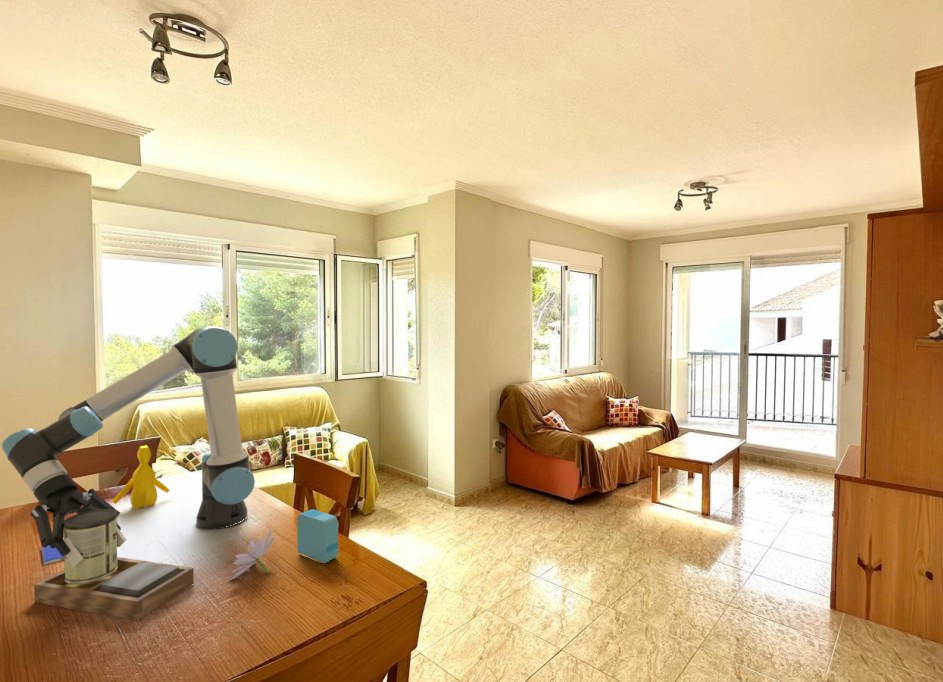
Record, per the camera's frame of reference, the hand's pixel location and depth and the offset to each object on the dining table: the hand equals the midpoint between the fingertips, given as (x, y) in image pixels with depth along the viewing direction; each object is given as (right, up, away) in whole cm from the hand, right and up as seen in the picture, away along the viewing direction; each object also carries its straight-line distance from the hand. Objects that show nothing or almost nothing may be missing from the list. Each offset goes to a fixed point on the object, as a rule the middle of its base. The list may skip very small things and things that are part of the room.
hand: (101, 553), depth 117 cm
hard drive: (-27, -10, +21) cm, 35 cm away
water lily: (+32, -10, +10) cm, 35 cm away
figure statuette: (-28, -8, +57) cm, 64 cm away
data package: (+47, -9, +18) cm, 51 cm away
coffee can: (-3, -6, +1) cm, 6 cm away
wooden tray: (+4, -9, -1) cm, 10 cm away
